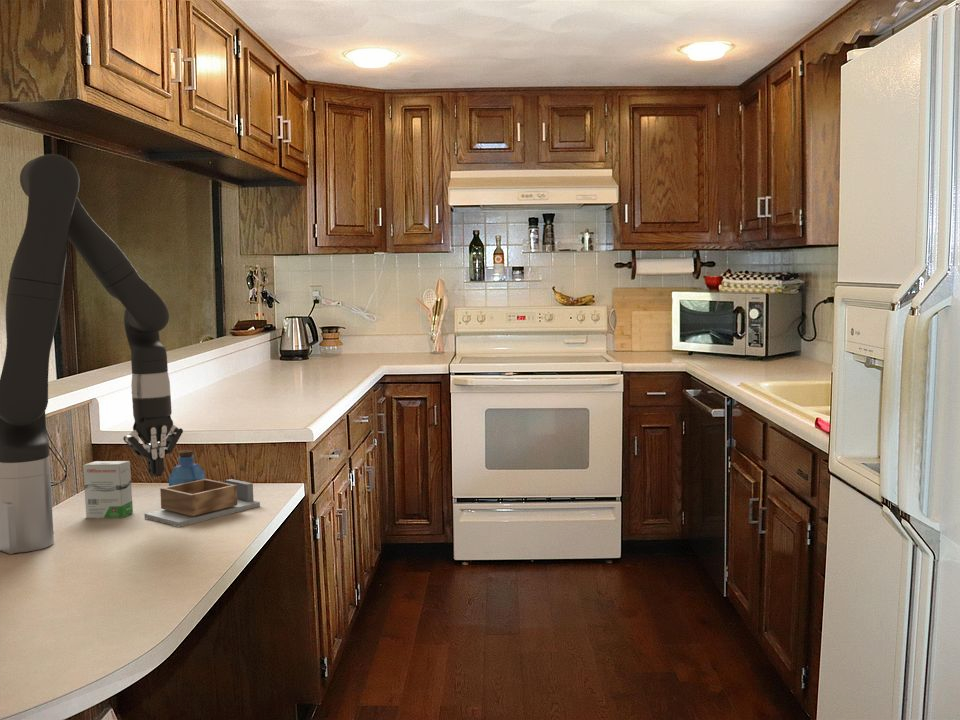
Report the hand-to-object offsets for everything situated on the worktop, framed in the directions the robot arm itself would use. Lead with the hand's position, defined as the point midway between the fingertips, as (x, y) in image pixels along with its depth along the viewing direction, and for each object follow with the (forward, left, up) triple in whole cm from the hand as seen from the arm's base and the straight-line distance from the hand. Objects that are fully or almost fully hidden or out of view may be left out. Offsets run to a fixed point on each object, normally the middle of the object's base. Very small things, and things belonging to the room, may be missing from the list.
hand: (156, 475), depth 182 cm
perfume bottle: (+15, +11, -11) cm, 21 cm away
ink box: (-2, +15, -10) cm, 19 cm away
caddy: (+10, 0, -9) cm, 14 cm away
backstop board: (+11, 0, -10) cm, 15 cm away
